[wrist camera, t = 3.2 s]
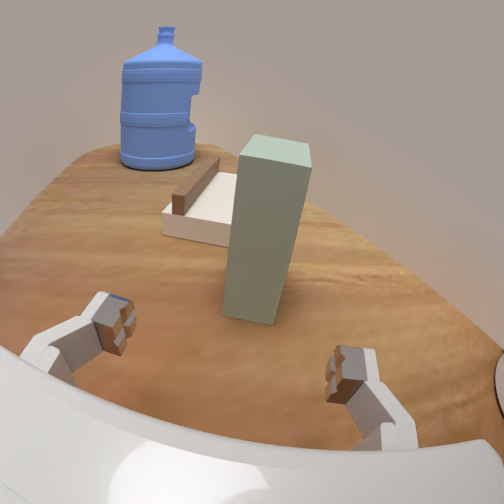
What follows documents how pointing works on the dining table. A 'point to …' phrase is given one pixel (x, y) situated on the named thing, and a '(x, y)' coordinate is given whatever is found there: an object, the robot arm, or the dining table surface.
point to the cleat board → (202, 206)
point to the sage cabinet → (264, 225)
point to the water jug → (159, 106)
